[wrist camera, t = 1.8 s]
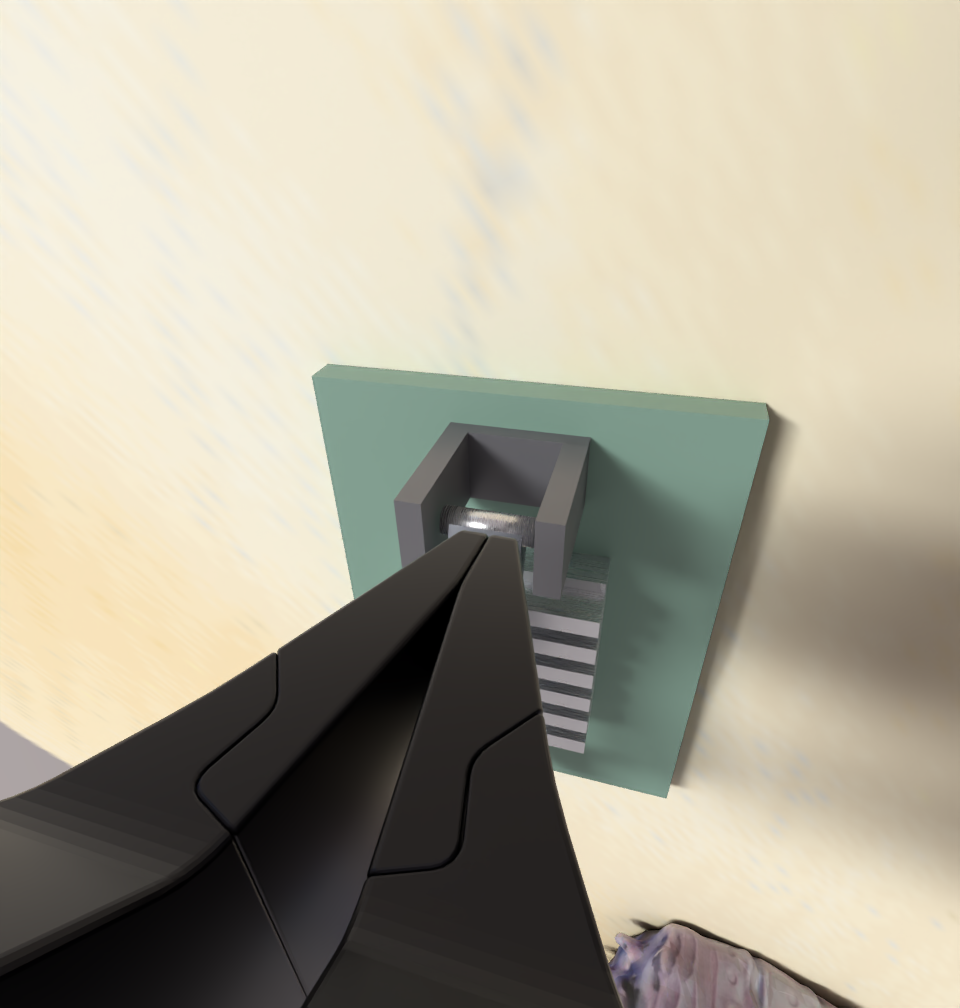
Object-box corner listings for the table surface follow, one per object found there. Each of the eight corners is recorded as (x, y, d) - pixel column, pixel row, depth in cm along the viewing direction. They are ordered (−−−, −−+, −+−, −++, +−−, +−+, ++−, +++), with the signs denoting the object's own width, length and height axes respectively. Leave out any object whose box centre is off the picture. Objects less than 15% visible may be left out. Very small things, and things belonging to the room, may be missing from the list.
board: (765, 403, 18) (769, 420, 18) (667, 775, 30) (666, 798, 29) (328, 364, 22) (311, 376, 21) (387, 709, 33) (378, 727, 32)
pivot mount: (591, 437, 19) (565, 525, 15) (584, 503, 21) (560, 599, 17) (450, 421, 21) (393, 500, 17) (454, 486, 22) (402, 571, 18)
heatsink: (610, 558, 22) (600, 614, 19) (592, 699, 26) (583, 759, 24) (430, 529, 24) (401, 578, 21) (441, 667, 28) (419, 720, 26)
